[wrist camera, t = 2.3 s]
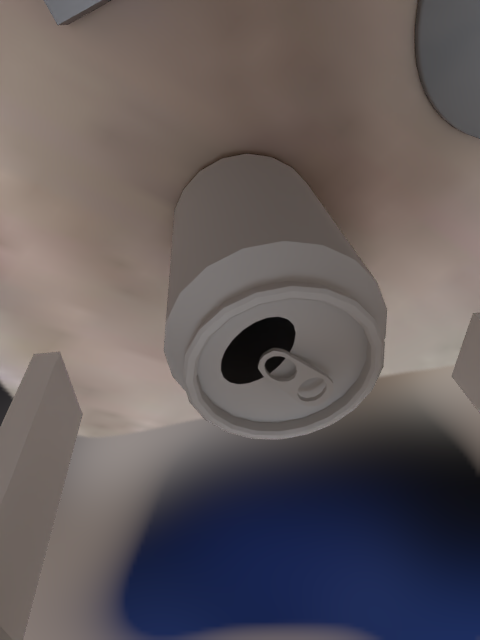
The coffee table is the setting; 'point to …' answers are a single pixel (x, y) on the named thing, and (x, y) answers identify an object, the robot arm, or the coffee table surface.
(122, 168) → the coffee table surface
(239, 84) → the coffee table surface
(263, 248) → the can
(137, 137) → the coffee table surface
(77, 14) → the remote
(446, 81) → the coaster
